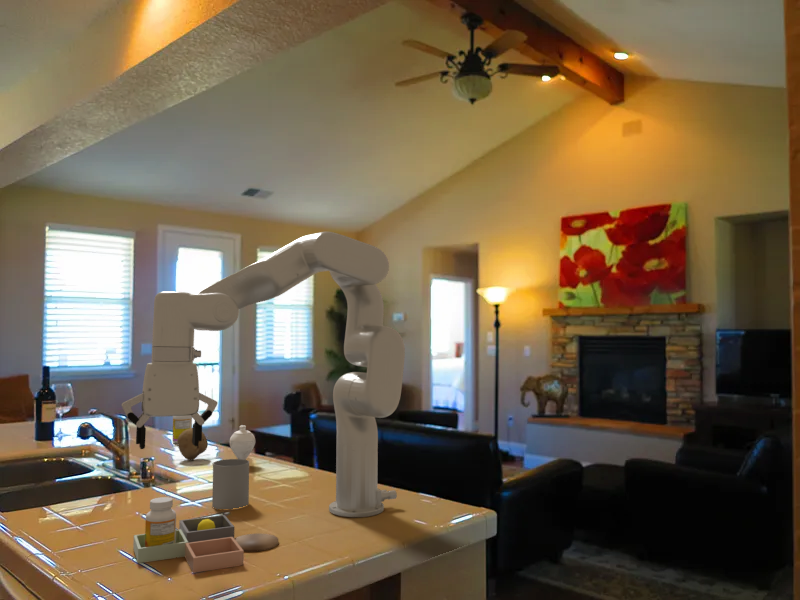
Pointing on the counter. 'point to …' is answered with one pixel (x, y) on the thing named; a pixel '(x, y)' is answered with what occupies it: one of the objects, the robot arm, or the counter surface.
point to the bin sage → (159, 548)
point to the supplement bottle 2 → (180, 425)
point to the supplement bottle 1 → (160, 523)
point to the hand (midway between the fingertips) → (169, 446)
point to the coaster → (256, 542)
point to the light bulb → (206, 525)
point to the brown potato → (191, 445)
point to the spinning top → (242, 443)
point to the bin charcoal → (220, 531)
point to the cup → (230, 483)
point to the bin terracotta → (213, 554)
